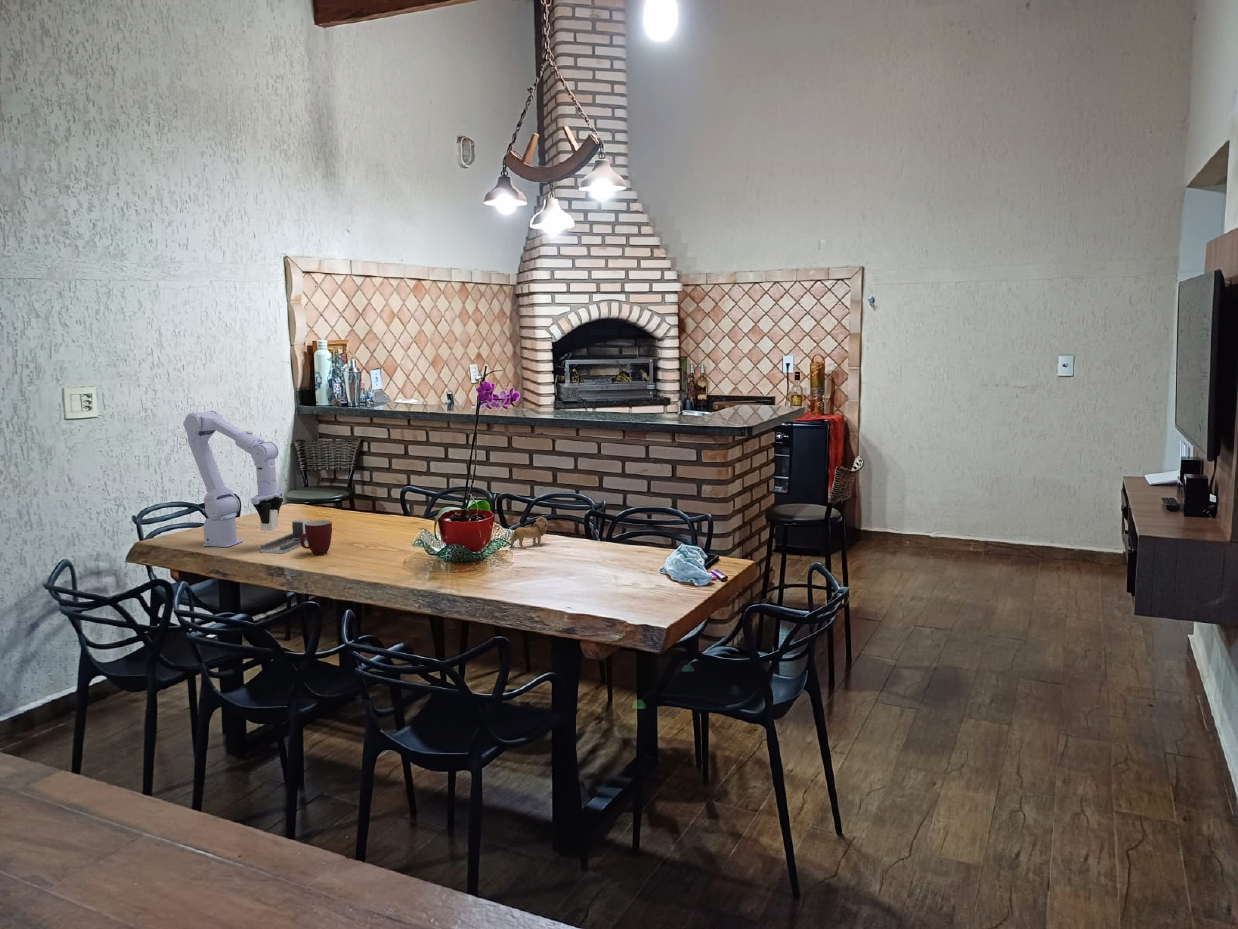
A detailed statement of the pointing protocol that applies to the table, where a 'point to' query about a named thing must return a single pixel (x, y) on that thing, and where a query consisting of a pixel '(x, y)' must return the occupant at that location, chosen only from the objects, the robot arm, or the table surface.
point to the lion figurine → (530, 532)
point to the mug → (317, 536)
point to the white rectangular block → (271, 521)
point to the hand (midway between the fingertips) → (269, 522)
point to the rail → (287, 539)
